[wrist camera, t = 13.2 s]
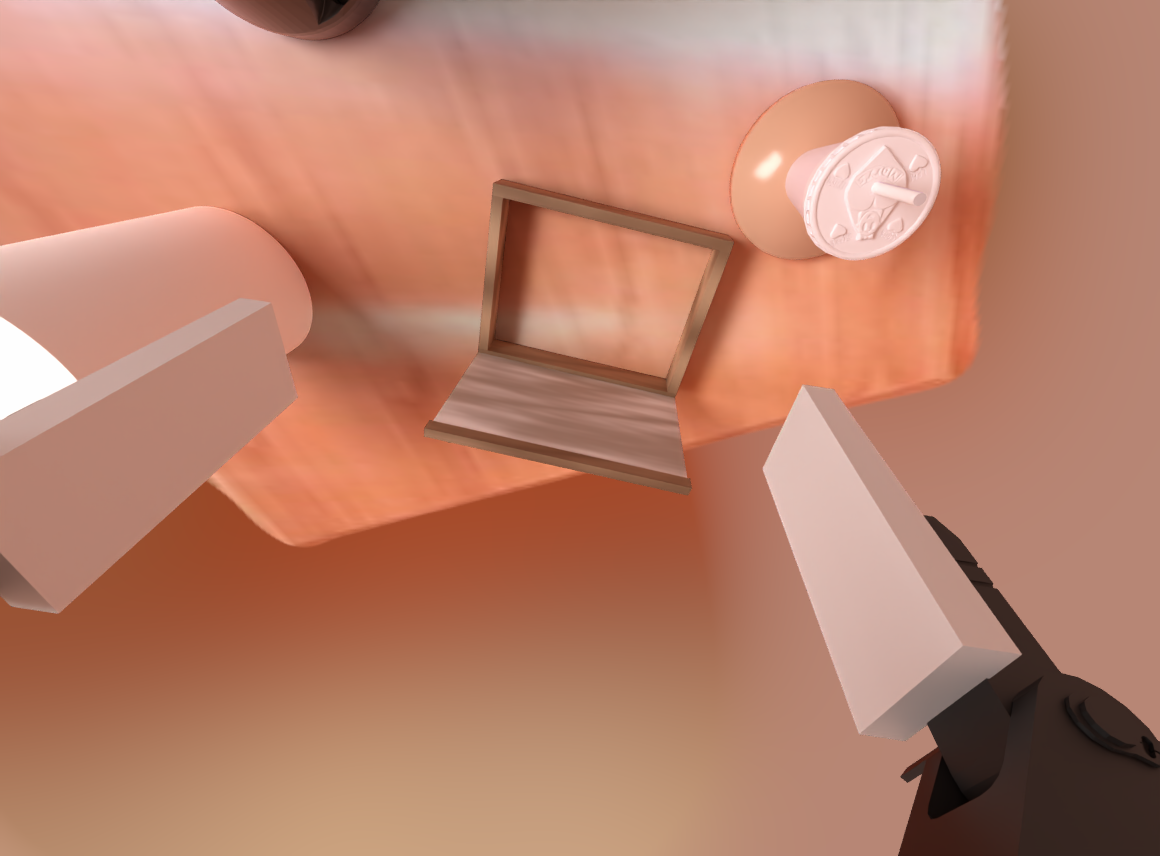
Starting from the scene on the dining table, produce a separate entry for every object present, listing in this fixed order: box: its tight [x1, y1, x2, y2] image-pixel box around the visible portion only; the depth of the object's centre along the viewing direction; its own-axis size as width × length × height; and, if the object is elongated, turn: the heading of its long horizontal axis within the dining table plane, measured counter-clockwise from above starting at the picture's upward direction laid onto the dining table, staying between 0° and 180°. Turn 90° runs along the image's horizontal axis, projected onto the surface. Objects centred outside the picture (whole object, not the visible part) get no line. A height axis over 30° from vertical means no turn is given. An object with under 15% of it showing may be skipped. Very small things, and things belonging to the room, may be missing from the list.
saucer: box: [730, 80, 900, 260], centre depth 33 cm, size 11×11×1 cm
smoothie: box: [785, 126, 941, 260], centre depth 26 cm, size 6×6×14 cm
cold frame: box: [424, 179, 734, 495], centre depth 34 cm, size 16×18×15 cm
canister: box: [0, 206, 313, 420], centre depth 34 cm, size 14×14×20 cm
